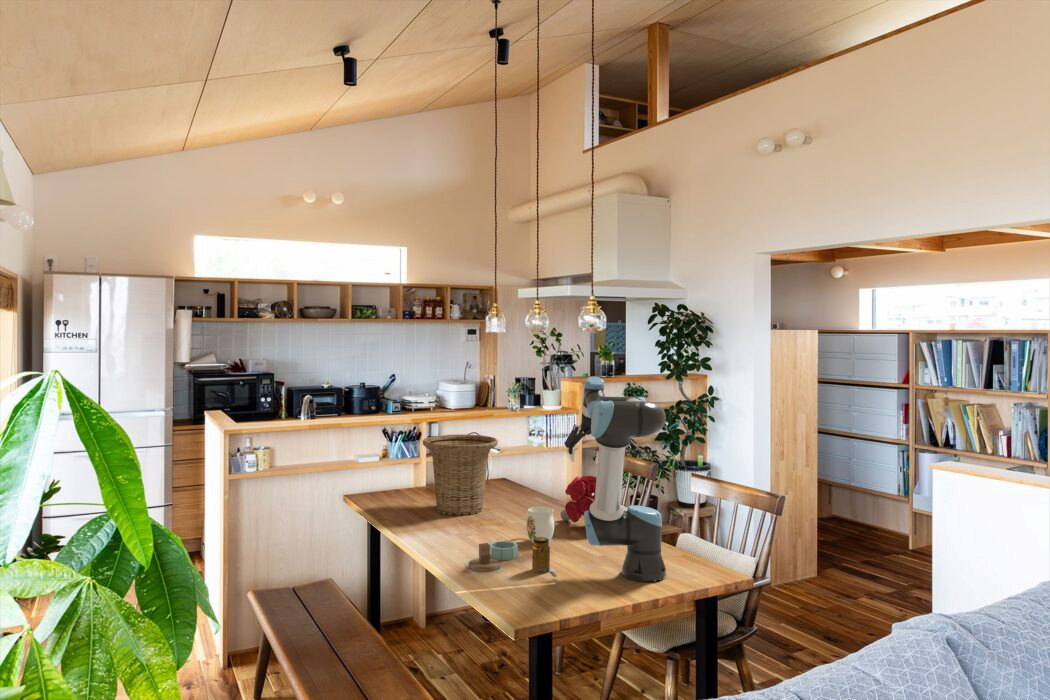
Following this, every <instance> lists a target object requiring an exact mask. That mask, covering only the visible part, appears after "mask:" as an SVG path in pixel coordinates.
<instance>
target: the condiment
mask: <svg viewBox="0 0 1050 700" xmlns="http://www.w3.org/2000/svg"><path fill="white" fill-rule="evenodd" d="M549 544H550V542H549V540H548V538H544V537H537V538H535V539H534V544H533V545H532V552H531V553H532V554H531V555H532V560H531V561H532V562H531V563H532V564H531V566H532V567H531V568H532V569H531V570H532V573H535V574H542V575H543V574H548V573H549V574H551V575H552V576H557V573H556V571H555V569H554V568H550V565H551V563H550V560H551V559H550V557H551V556H550V555H551V553H550V551H551V547H550V545H549Z"/></svg>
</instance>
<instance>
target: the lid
mask: <svg viewBox="0 0 1050 700" xmlns="http://www.w3.org/2000/svg"><path fill="white" fill-rule="evenodd" d="M489 544H490V543H488V542H483V543H478V558H474V559H472V560H471V559H470V560H469V562H468V563H469V569H470V570H472V571H476V572H491V573H493V572H492V571H496V570H498V569H499V568H500V565H501V562H500V560H497V559H493V558H491V557H490V545H489Z"/></svg>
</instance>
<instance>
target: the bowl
mask: <svg viewBox="0 0 1050 700" xmlns="http://www.w3.org/2000/svg"><path fill="white" fill-rule="evenodd" d="M488 544H489V545H490V558H491V559H496V560H498V561H508V560H509V561H510V560H513V559H515V558H516V559H517V557H519V544H518V543H516V542H515V541H509V540H499V541H498V540H496V541H493V542H491V543H488Z"/></svg>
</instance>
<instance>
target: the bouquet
mask: <svg viewBox="0 0 1050 700" xmlns="http://www.w3.org/2000/svg"><path fill="white" fill-rule="evenodd" d="M596 479H597V476H593V475H584V476H583V475H582V476H581V477H579V476H578V475H577V476H576V477H574V479H572V481H571V482H570V483H568V485H567V487H566V489H565V490H564V491H565V492H564V493H565V494H566V495H567V496H568V495H569V496H570V499H571V500H569V501H568V502H566V504H565V507H564V509H562V510H561V511H560V517H561V519H562V520H563V521H564V522H568V521H571V522H573V523H577V522H578V521H579V520H580V519H581V518H582V516H584V512H585V511H589V510H590V505H591V504H592V503H593V502H595V492H596Z"/></svg>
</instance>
